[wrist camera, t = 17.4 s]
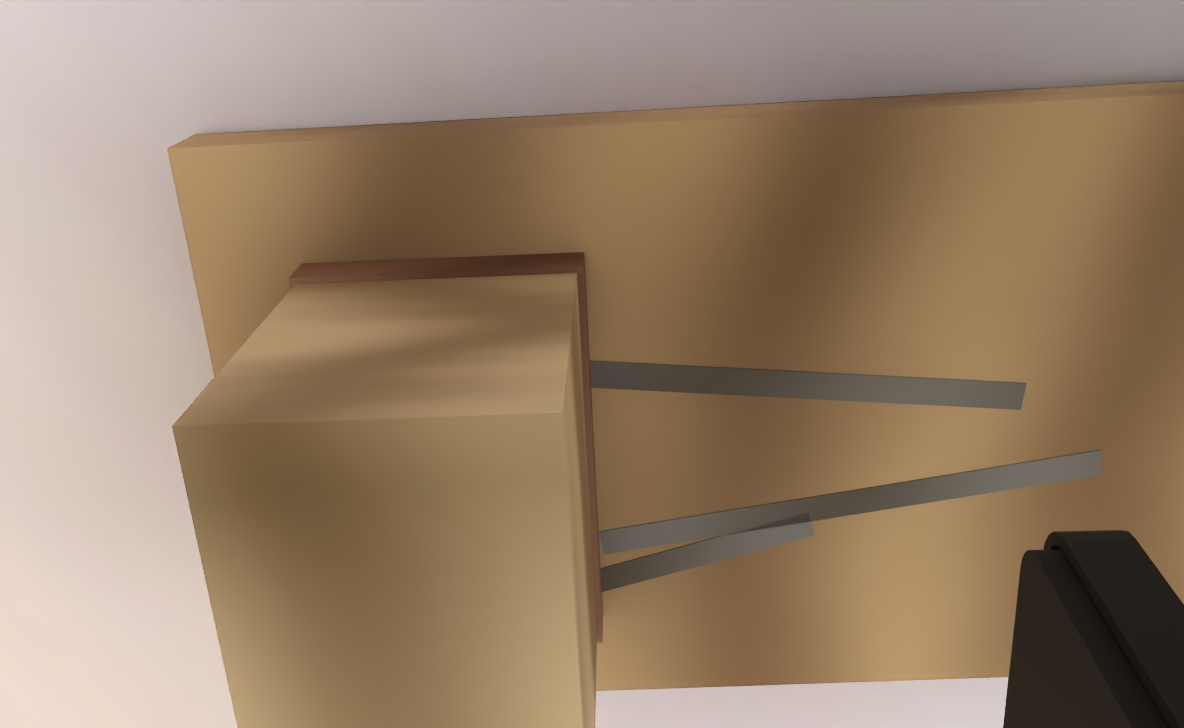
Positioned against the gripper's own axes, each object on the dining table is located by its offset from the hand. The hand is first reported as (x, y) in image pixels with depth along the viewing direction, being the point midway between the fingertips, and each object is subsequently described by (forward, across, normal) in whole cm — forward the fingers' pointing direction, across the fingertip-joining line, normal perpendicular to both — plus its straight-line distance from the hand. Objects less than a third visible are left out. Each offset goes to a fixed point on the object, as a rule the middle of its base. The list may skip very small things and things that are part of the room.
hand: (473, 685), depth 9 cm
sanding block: (+10, +2, +3) cm, 10 cm away
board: (+11, -4, +3) cm, 12 cm away
